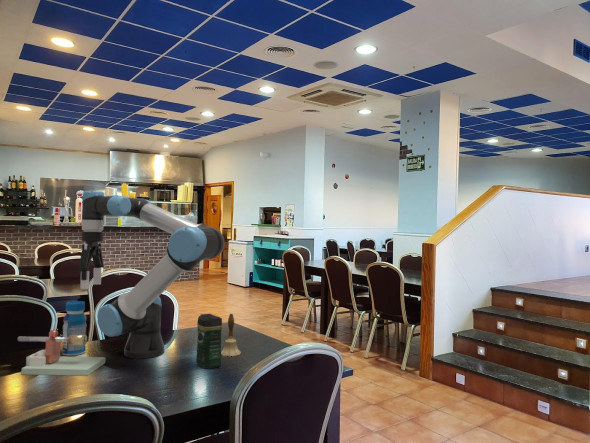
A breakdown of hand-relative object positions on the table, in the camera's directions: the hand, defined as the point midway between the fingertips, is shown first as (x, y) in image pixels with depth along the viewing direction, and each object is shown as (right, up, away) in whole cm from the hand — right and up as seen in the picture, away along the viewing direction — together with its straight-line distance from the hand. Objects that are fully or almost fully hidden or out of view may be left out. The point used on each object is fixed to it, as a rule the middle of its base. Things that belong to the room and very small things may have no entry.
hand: (91, 286), depth 165 cm
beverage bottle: (-9, -27, +4) cm, 29 cm away
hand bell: (+52, -29, +9) cm, 60 cm away
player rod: (-7, -24, -14) cm, 29 cm away
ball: (-10, -22, -14) cm, 28 cm away
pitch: (-2, -27, -14) cm, 30 cm away
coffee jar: (+46, -28, -6) cm, 55 cm away
